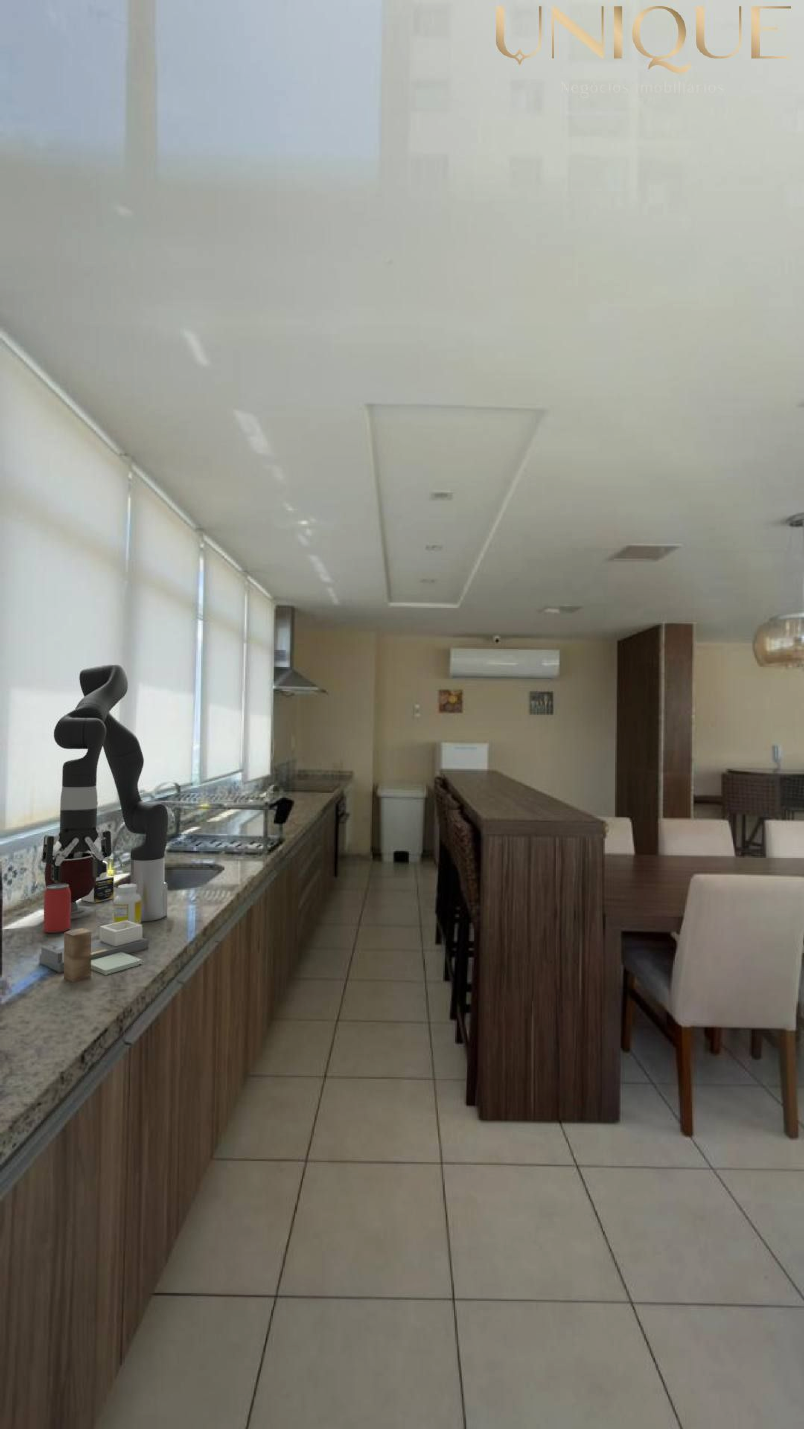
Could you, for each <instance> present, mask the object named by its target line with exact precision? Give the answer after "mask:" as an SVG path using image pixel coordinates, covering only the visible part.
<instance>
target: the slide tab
mask: <svg viewBox="0 0 804 1429" xmlns="http://www.w3.org/2000/svg"><path fill="white" fill-rule="evenodd" d="M142 938H143V924H141V925H140V924H137V923H134V922H131V921H128V920H125V921H121V922H117V923H114V922H113V923H109V924H104V925H100V926H99V939H100V941H102V942H104V943H107V944H110V945H113V946H119V945H122V944H126V943H130V942H134V941H138V940H141V939H142Z"/></svg>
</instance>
